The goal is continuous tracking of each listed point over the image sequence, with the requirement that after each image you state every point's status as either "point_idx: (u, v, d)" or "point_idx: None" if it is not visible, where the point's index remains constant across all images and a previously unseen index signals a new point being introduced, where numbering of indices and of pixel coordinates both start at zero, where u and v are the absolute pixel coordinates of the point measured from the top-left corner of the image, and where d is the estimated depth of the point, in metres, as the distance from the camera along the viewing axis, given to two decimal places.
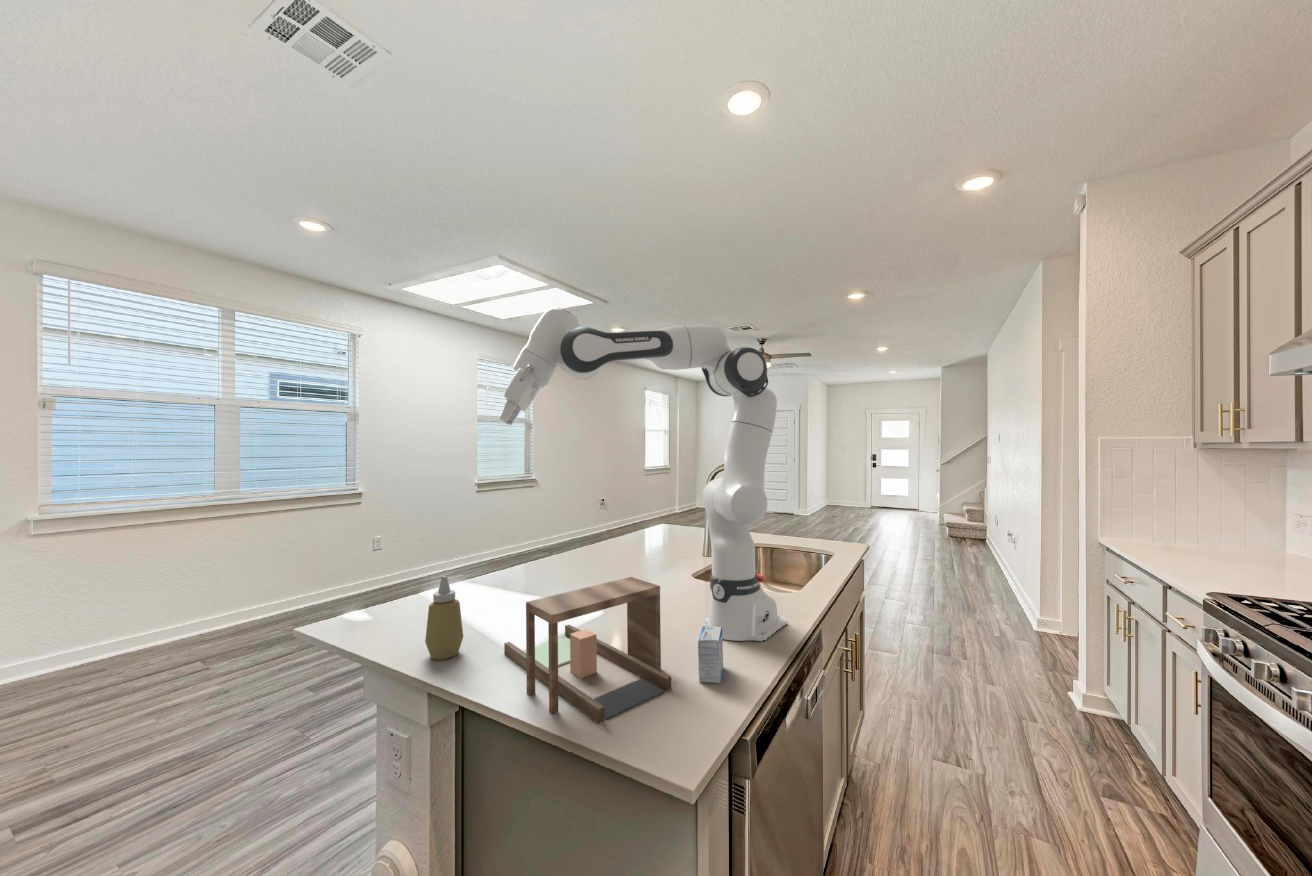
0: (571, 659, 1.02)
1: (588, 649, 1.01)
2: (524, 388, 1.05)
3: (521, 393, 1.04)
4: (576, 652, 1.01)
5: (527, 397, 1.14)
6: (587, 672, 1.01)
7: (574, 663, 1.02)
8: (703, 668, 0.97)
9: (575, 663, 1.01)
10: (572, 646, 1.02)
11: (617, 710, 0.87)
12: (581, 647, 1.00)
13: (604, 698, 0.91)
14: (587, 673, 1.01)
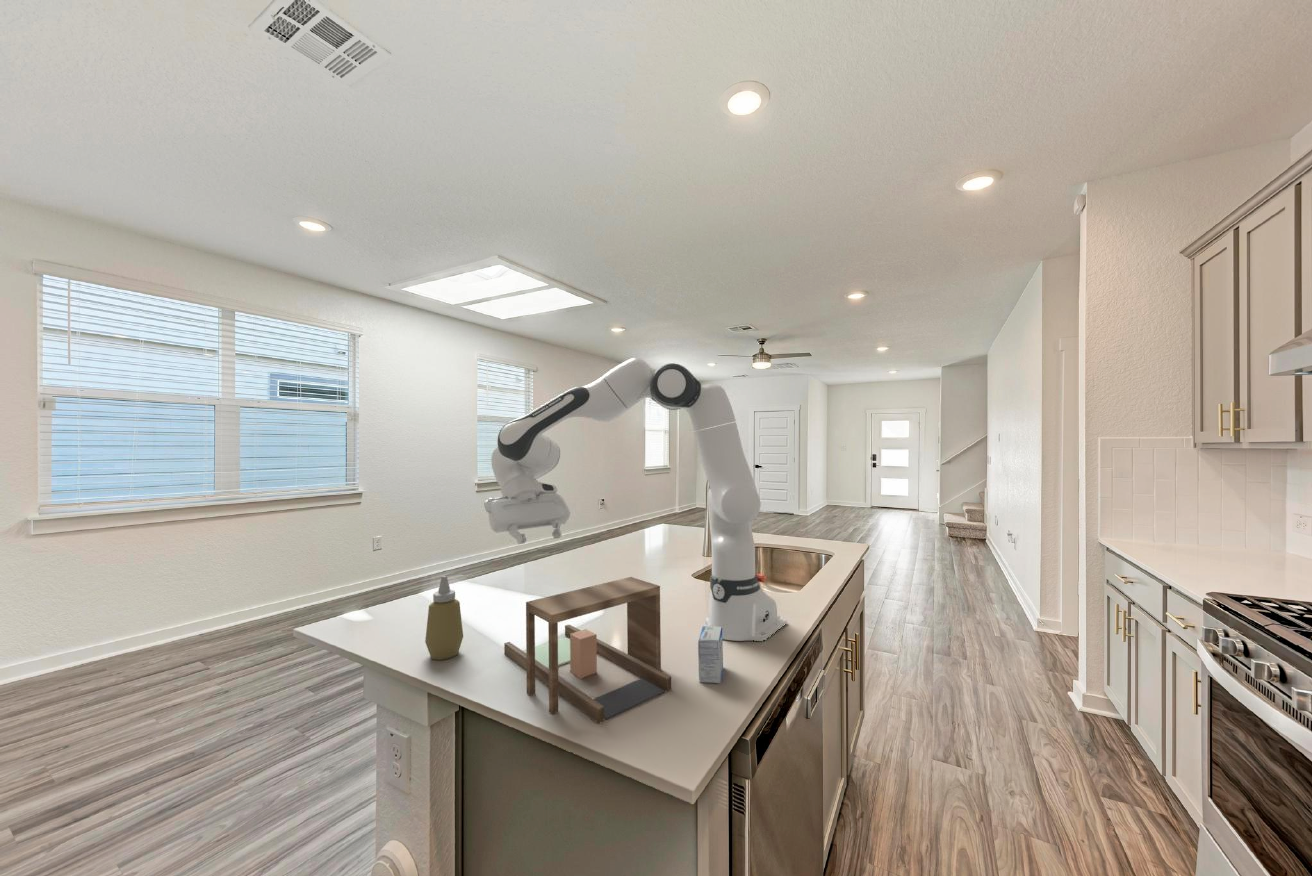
0: (571, 659, 1.02)
1: (588, 649, 1.01)
2: (492, 513, 1.14)
3: (493, 517, 1.13)
4: (576, 652, 1.01)
5: (532, 510, 1.20)
6: (587, 672, 1.01)
7: (574, 663, 1.02)
8: (703, 668, 0.97)
9: (575, 663, 1.01)
10: (572, 646, 1.02)
11: (617, 710, 0.87)
12: (581, 647, 1.00)
13: (604, 698, 0.91)
14: (587, 673, 1.01)
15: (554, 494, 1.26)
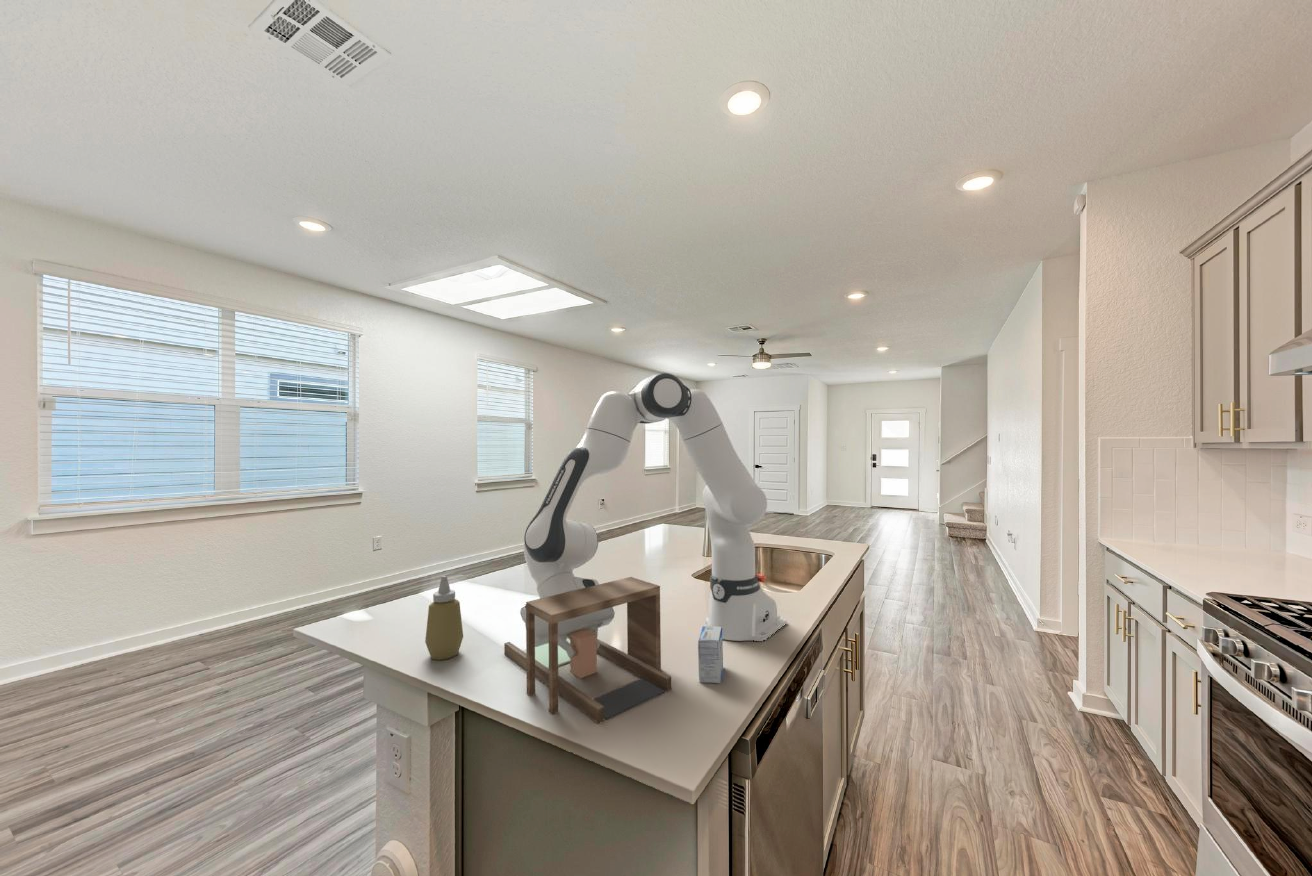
0: (571, 659, 1.02)
1: (588, 649, 1.01)
2: None
3: None
4: None
5: None
6: (587, 672, 1.01)
7: (574, 663, 1.02)
8: (703, 668, 0.97)
9: (575, 663, 1.01)
10: None
11: (617, 710, 0.87)
12: (581, 646, 1.00)
13: (604, 698, 0.91)
14: (587, 673, 1.01)
15: None
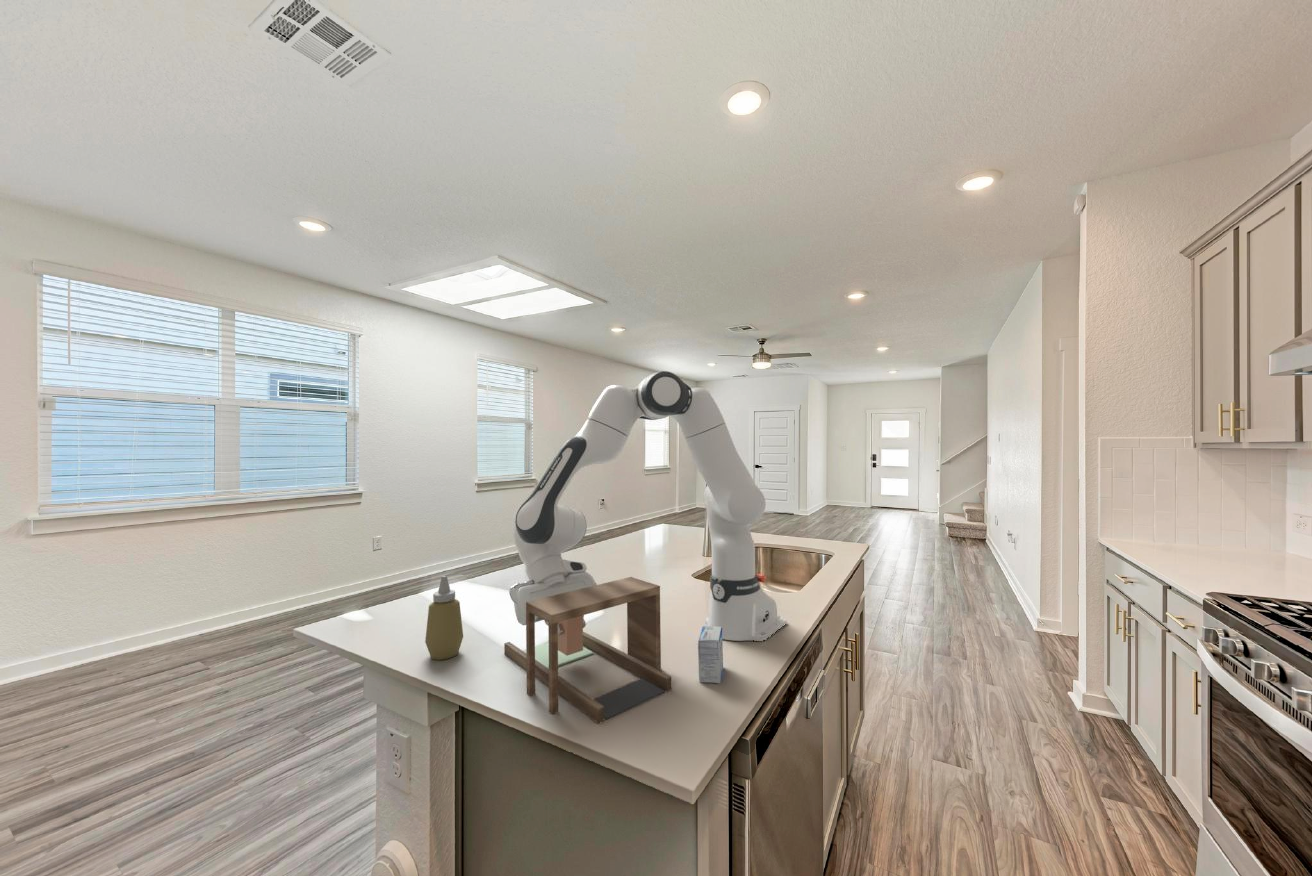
0: (558, 637, 1.06)
1: (574, 628, 1.05)
2: (519, 604, 1.03)
3: (520, 609, 1.02)
4: None
5: None
6: (573, 650, 1.05)
7: (561, 641, 1.05)
8: (703, 668, 0.97)
9: (561, 641, 1.05)
10: None
11: (617, 710, 0.87)
12: (567, 625, 1.04)
13: (604, 698, 0.91)
14: (573, 651, 1.05)
15: (583, 573, 1.16)
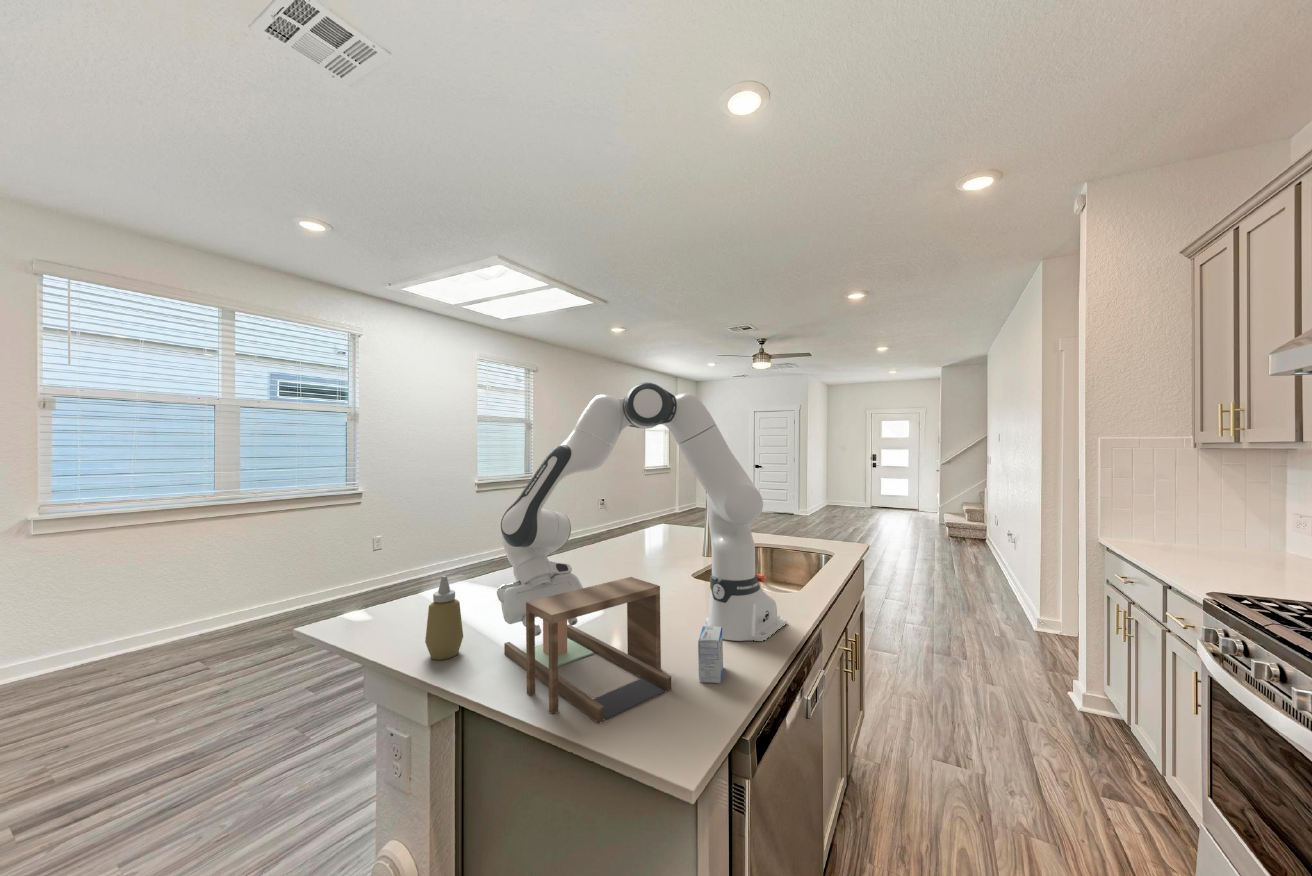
0: (544, 640, 1.11)
1: (559, 631, 1.10)
2: (506, 604, 1.08)
3: (507, 609, 1.08)
4: (548, 634, 1.10)
5: (546, 596, 1.14)
6: (558, 652, 1.10)
7: (546, 644, 1.11)
8: (703, 668, 0.97)
9: (547, 644, 1.10)
10: (544, 628, 1.11)
11: (617, 710, 0.87)
12: None
13: (604, 698, 0.91)
14: (558, 653, 1.10)
15: (569, 574, 1.21)
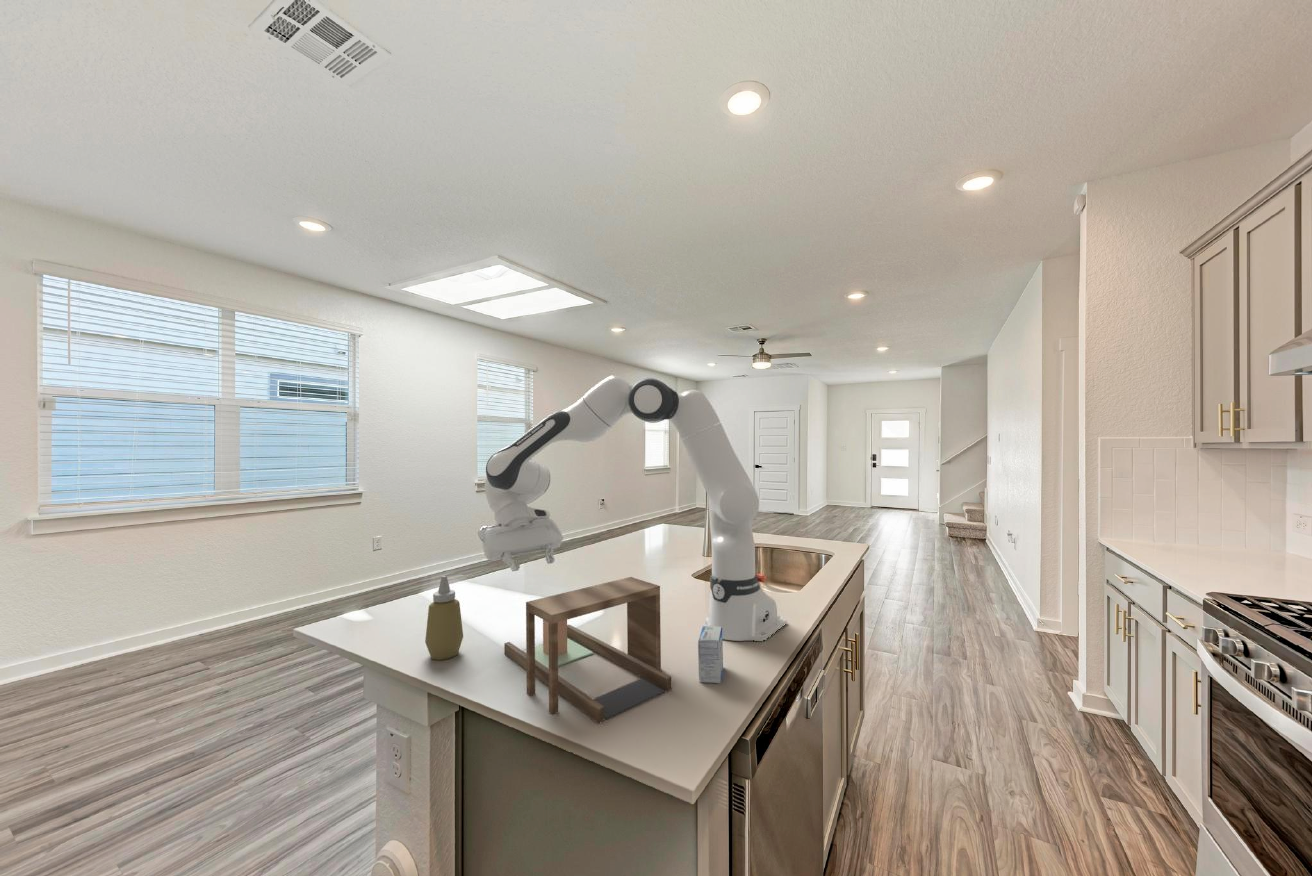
0: (544, 640, 1.11)
1: (559, 631, 1.10)
2: (486, 542, 1.17)
3: (487, 546, 1.16)
4: (548, 634, 1.10)
5: (525, 537, 1.23)
6: (558, 652, 1.10)
7: (546, 644, 1.11)
8: (703, 668, 0.97)
9: (547, 644, 1.10)
10: (544, 628, 1.11)
11: (617, 710, 0.87)
12: None
13: (604, 698, 0.91)
14: (558, 653, 1.10)
15: (547, 519, 1.29)
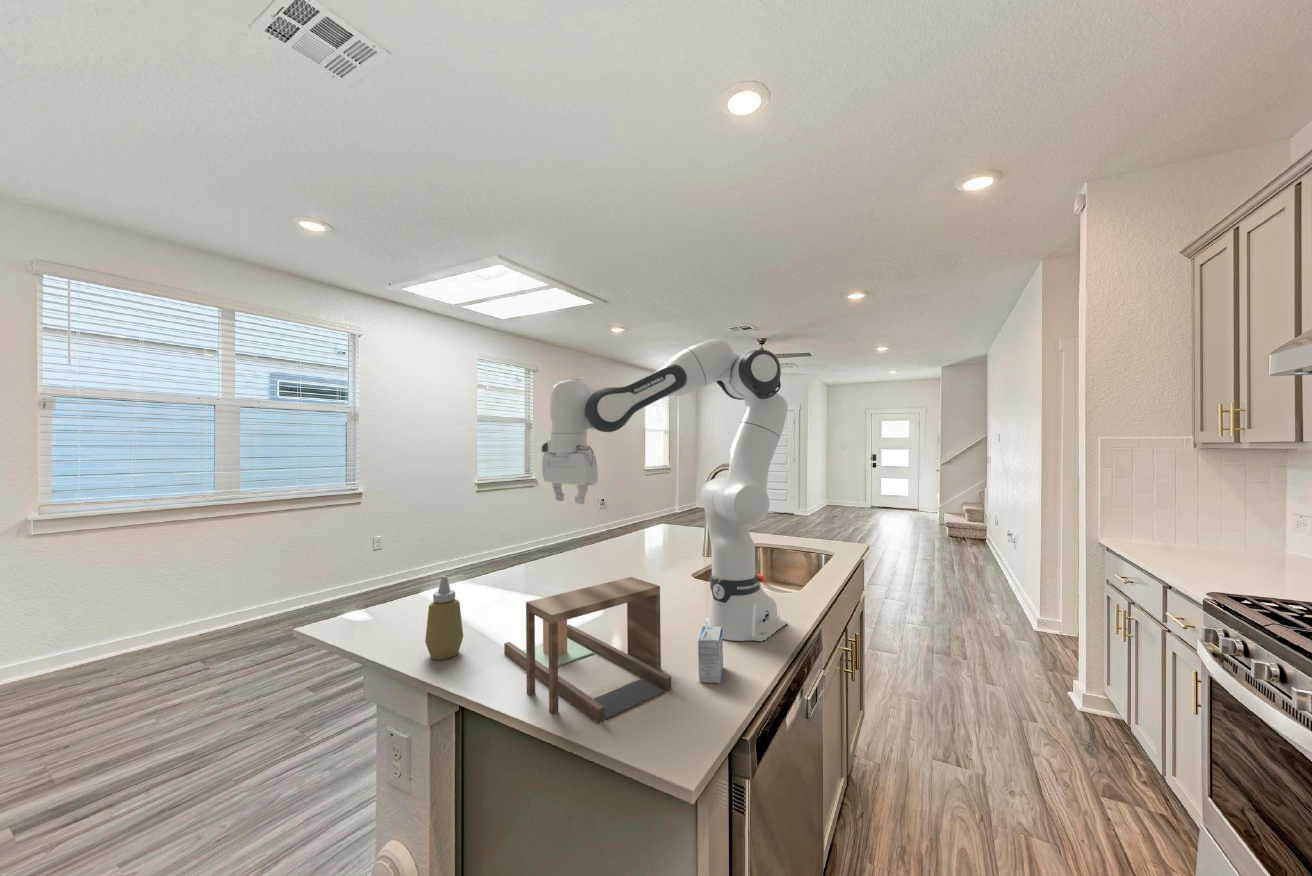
0: (544, 640, 1.11)
1: (559, 631, 1.10)
2: (596, 469, 1.12)
3: (596, 474, 1.12)
4: (548, 634, 1.10)
5: None
6: (558, 652, 1.10)
7: (546, 644, 1.11)
8: (703, 668, 0.97)
9: (547, 644, 1.10)
10: (544, 628, 1.11)
11: (617, 710, 0.87)
12: None
13: (604, 698, 0.91)
14: (558, 653, 1.10)
15: None
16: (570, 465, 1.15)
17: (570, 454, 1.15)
